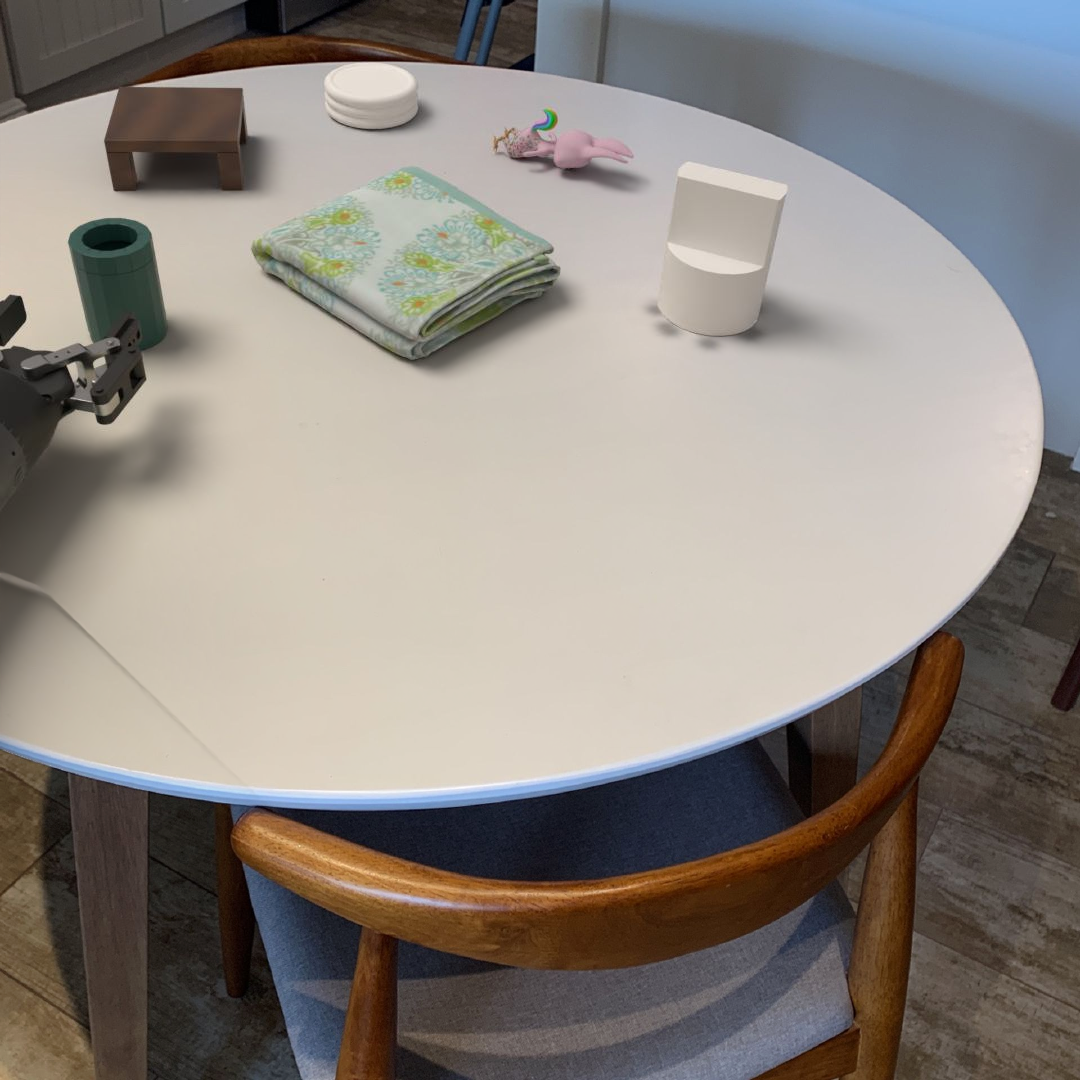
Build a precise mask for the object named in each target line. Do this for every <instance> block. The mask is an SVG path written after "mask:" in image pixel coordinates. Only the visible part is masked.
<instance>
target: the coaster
mask: <svg viewBox="0 0 1080 1080" xmlns="http://www.w3.org/2000/svg"><path fill="white" fill-rule="evenodd" d="M323 81H324V82H323V88H324V90H325V91H324V99H325V103H324V107H325V110H326V113H327V114H328V115H329V116H330V117H331V118H332V119H333V120H334V121H336V122H338V123H340V124H343V125H345V126H348V127H352V128H356V129H363V130H383V129H390V128H395V127H398V126H402V125H404V124H406V123H409V121H411V120H412V119H414V117H415V116H416V115H417V113H418V111H419V103H418V100H419V95H418V89H419V84H418V81H417V79H416V77H415V76H414V75H413V74H412V73H411V72H409V71H407V70H406V69H404V68H402V67H399V66H396V65H392V64H388V63H383V62H382V63H381V62H355V63H349V64H345V65H341V66H339V67H337V68H335V69H333V70H331V71H330V72H329V73H328V74H327V75H326V77H325V78H324V80H323Z"/></svg>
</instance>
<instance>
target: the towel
mask: <svg viewBox="0 0 1080 1080" xmlns="http://www.w3.org/2000/svg"><path fill="white" fill-rule="evenodd" d="M250 251H251V254H252V255H253V257H254V259H255V261H256V263H257V264H258V266H259V267H260V268H261V270H262V271H264V272H265V273H267V274H272V275H274V276H276V277H277V278H278V279H281V280H282V281H283V282H284V283H285V284H286V285H287V286H288V287H289V288H291V289H293V290H294V291H297V292H298V293H299V294H301V295H302V296H303V297H305V298H307V299H308V300H311V301H312V302H313V303H315V304H316V305H318V306H319V307H321V308H322V309H324V310H325V311H326V312H328V313H330V314H331V315H333V316H335V317H336V318H338V319H340V320H341V321H343V322H345V323H346V324H348V325H349V326H350V327H352V328H354V329H355V330H356V331H358V332H360V333H361V334H363V335H364V336H366V337H368V338H369V339H371V340H372V341H373V342H375V343H376V344H377V345H380V346H381V347H384V348H385V349H387V350H389V351H390V352H393V353H394V354H396V355H399V356H400V357H403V358H406V359H409V360H410V361H414V360H418V359H421V358H425V357H428V356H429V355H430V354H431V353H434V352H436V351H437V350H439V349H441V348H442V347H444V346H445V345H447V344H449V343H450V342H452V341H454V340H456V339H458V338H460V337H461V336H463V335H465V334H466V333H469V332H471V331H472V330H475V329H476V328H478V327H480V326H481V325H484V324H485V323H488V322H489V321H490V320H492V319H494V318H496V317H497V316H499V315H501V314H502V313H504V312H505V311H506V310H508V309H510V308H511V307H514V306H515V305H518V303H520V302H522V301H524V300H526V299H534V298H539V297H541V296H542V294H543V292H547V291H549V290H550V289H553V288H554V287H555V284H556V282H557V280H558V279H557V278H558V277H560V275H561V266H560V265H558V264H556V263H555V261H554V260H553V259H551V258H549V256H547V255H551V254H553V253H554V251H555V247H554V246H553V245H552V244H551V243H550V242H549V241H547V240H546V239H544V238H543V237H540V236H539V235H537V234H533V233H532V232H530V231H528V230H526V229H524V228H522V227H521V226H519V225H517V224H516V223H514V222H513V221H510V219H507V218H506V217H504V216H502V215H500V214H499V213H497V212H496V211H494V210H493V209H491V208H490V207H489V206H486V205H485V204H484V203H482V202H481V201H479V200H477V198H474V197H472V196H471V195H470V194H468V193H466V192H464V191H463V190H462V189H459V188H458V187H457V186H455V185H453V184H451V183H449V182H448V181H446V180H444V179H442V178H440V177H439V176H436V175H434V174H433V173H431V172H429V171H427V170H424V169H422V168H420V167H419V166H414V165H412V166H411V165H410V166H406V167H405V166H404V167H402V168H399V169H398V170H394V171H391V172H390V173H388V174H385V175H382V176H381V177H378V178H376V179H374V180H372V181H370V182H368V183H365V184H363V185H362V186H359V187H357V188H355V189H354V190H353V189H352V190H350V191H349V192H347V193H344V194H342V195H341V196H339V197H336V198H333V199H331V200H329V201H327V202H325V203H322V204H321V205H318V206H316V207H314V208H312V209H311V210H309V211H307V212H306V211H305V212H304V213H302V214H300V215H298V216H296V217H294V218H292V219H290V220H288V221H286V222H284V223H282V224H280V225H277V226H276V227H275V228H273V229H271V230H268V231H267V232H265V233H264V234H262V235H260V236H259V237H257V238H255V239H254V240H253V241H252V245H251V247H250Z"/></svg>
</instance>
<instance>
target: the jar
mask: <svg viewBox="0 0 1080 1080" xmlns="http://www.w3.org/2000/svg"><path fill="white" fill-rule="evenodd" d="M153 239H154V238H153V234H152V231H151V230H150V229H149V227H148V226H147V225H146V224H144V223H142V222H140V221H138V220H136V219H135V220H134V219H130V218H125V217H123V218H122V217H104V218H98V219H94V220H90V221H87V222H85V223H82V224H80V225H78V226H77V227H76V228H75V229H74V230H73V231H71V232H70V234H69V237H68V240H67V244H68V249H69V254H70V257H71V263H72V266H73V271H74V275H75V279H76V284H77V288H78V292H79V297H80V300H81V301H80V302H81V306H82V309H83V314H84V319H85V322H86V328H87V331H88V333H89V337H90V340H91V341H92V344H93V343H95V342H98V341H101V340H103V339H105V338H104V336H105V334H106V333H107V332H108V330H109V329H110V328H111V326H112V325H113V324H114V322H115V321H116V320H117V318H118V317H119V316H120V314H121V313H122V312H123V311H129V312H134V313H135V316H136V319H138V320H139V324H140V329H141V334H142V341H141V342H140V343H139V344H138V346H137V347H139V348H140V349H141V351H144V350H146V349H149V348H152V347H154V346H156V345H158V344H159V343H160V342H161V341H162V340H163V339H164V338H165V337H166V335H167V333H168V319H167V314H166V308H165V302H164V301H165V300H164V296H163V291H162V284H161V280H160V274H159V267H158V263H157V262H158V261H157V257H156V250H155V246H154V245H155V244H154V240H153Z"/></svg>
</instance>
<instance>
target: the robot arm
mask: <svg viewBox="0 0 1080 1080" xmlns="http://www.w3.org/2000/svg"><path fill="white" fill-rule="evenodd" d="M26 322H27V311H26V307H25V303H24V300H23V297H22V295H16V294H9V295H8V296H7V297H5V299H1V300H0V347H2V348H3V349H0V511H1V510H3V508H4V507H5V506H6V504H7V503H8V502H9V501H10V499H11V498H12V496H13V495H14V494H15V492H16V491H17V489H18V488H19V486H21V484H22V483H23V481H24V479H25V478H26V477H27V475H28V474H29V473H30V472H31V470H32V469H33V468H34V466H35V464H36V463H37V462H38V460H39V459H40V458H41V456H42V455H43V454H44V452H45V450H46V449H47V448H48V446H49V445H50V443H51V442H52V441H53V437H54V434H55V432H56V430H57V426H58V425H59V422H60V421H61V420H62V419H64V418H65V417H67V416H69V415H71V414H72V413H74V412H75V411H79V412H86V413H91V414H94V416H95V420H96V423H97V424H99V425H102V426H107V425H111V424H113V423H114V422H115V421H116V420H117V418H118V417H119V416H120V414H121V413H122V412H123V411H124V410H125V408H126V407H127V406H128V404H130V402H131V401H132V400H133V398H134V396H135V395H136V394H137V393H138V392H139V390H140V389H141V387H142V386H143V385H144V384H145V383H146V381H147V373H146V369H145V364H144V359H143V355H142V350H141V349H140V348H139V347H137V346H138V344H139V343H140V342H141V341H142V334H141V329H140V324H139V320H138V319H136V316H135V313H134V312H129V311H123V312H122V313H121V314H120V316H119V317H118V318H117V320H116V321H115V322H114V324H113V325H112V326H111V328H110V329H109V330H108V332H107V333H106V334H105V336H104V338H105V339H103V340H101V341H98V342H95V343H93V342H92V343H91V344H87V345H83V344H81V343H78V342H76V343H73V344H70V345H68V346H65V347H63V348H60V349H58V350H55V351H54V350H46V349H45V350H43V349H42V350H39V349H38V350H37V349H36V350H34V349H30V348H27V347H24V346H17V345H12V346H11V347H10V348H5V347H6V345H8V343H9V342H10V341H11V340H12V338H13V337H14V336H15V335H16V334H17V332H19V330H20V329H21V328H22V327H23V326H24V324H25V323H26ZM101 358H104V361H105V363H104V364H101V365H98V366H96V367H95V365H94V363H95V361H96V360H98V359H101ZM73 363H74V364H75V367H76V372H77V379H76V380H75V381H73V380H74V379H73V378H72V375H71V373H70V370H69V368H68V365H71V364H73Z"/></svg>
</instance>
